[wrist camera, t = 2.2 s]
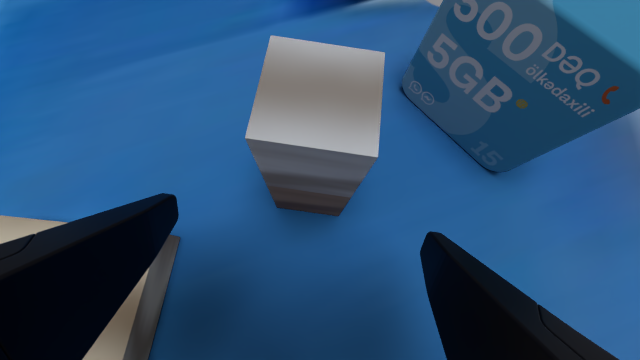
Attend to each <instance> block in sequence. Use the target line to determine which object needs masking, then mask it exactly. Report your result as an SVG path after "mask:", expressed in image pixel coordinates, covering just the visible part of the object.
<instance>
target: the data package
mask: <svg viewBox="0 0 640 360" xmlns="http://www.w3.org/2000/svg"><path fill="white" fill-rule="evenodd" d="M402 87H403V90H404V92H405V94H406V96H407V97H408V98H409V99H410V100H411V101H412V102H413V103H414V104H415V105H416V106H417V107H419V108H420V109H421V110H422V111H423V112H424V113H425V114H426V115H427V116H428V117H429V118H430V119H432V120H433V121H434V122H435V123H436V124H437V125H438V126H439V127H440V128H441V129H442V130H444V131H445V132H446V133H447V134H448V135H449V136H450V137H451V138H452V139H453V140H454V141H456V142H457V143H458V144H459V145H460V146H461V147H462V148H463V149H464V150H465V151H466V152H467V153H469V154H470V155H471V156H472V157H473V158H474V159H475V160H476V161H477V162H478V163H479V164H481V165H482V166H483V167H485V168H487V169H489V170H491V171H495V172H505V171H508V170H511V169H513V168H515V167H517V166H519V165H521V164H523V163H525V162H528V161H530V160H532V159H534V158H536V157H538V156H540V155H542V154H545V153H547V152H549V151H551V150H553V149H555V148H557V147H559V146H561V145H564V144H566V143H568V142H570V141H572V140H574V139H576V138H578V137H581V136H583V135H585V134H587V133H589V132H591V131H593V130H595V129H597V128H600V127H602V126H604V125H606V124H608V123H610V122H612V121H614V120H617V119H619V118H621V117H623V116H625V115H627V114H629V113H631V112H633V111H635V110H637V109H639V108H640V0H443V2H442V3H441V5H440V7H439V9H438V11H437V13H436V15H435V17H434V19H433V21H432V23H431V25H430V27H429V28H428V30H427V32H426V34H425V36H424V38H423V40H422V42H421V44H420V46H419V48H418V50H417V52H416V53H415V55H414V57H413V59H412V61H411V63H410V65H409V67H408V69H407V71H406V73H405V75H404V77H403V80H402Z"/></svg>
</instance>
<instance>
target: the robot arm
mask: <svg viewBox="0 0 640 360" xmlns="http://www.w3.org/2000/svg"><path fill="white" fill-rule="evenodd" d="M177 220H178V206H177V199H176V196H175V195H172V194H165V193H162V194H158V195H155V196H152V197H149V198H145V199H142V200H139V201H136V202H133V203H129V204H126V205H123V206H120V207H117V208H114V209H110V210H107V211H104V212H101V213H98V214H94V215H91V216H88V217H85V218H82V219H78V220H75V221H72V222H69V223H66V224H63V225H59V226H56V227H53V228H50V229H47V230H43V231H40V232H37V233H36V234H30V235H27V236H24V237H21V238H18V239H14V240H11V241H8V242H5V243H1V244H0V360H82V359H83V358H84V357H85V355H86V354H87V352H88V351H89V350H90V348H91V347H92V346H93V344H94V343H95V341H96V340H97V339H98V337H99V336H100V335H101V333H102V332H103V330H104V329H105V328H106V326H107V325H108V323H109V322H110V321H111V319H112V318H113V317H114V315H115V314H116V312H117V311H118V310H119V308H120V307H121V306H122V304H123V303H124V301H125V300H126V299H127V297H128V296H129V294H130V293H131V292H132V290H133V289H134V288H135V286H136V285H137V283H138V282H139V281H140V279H141V278H142V276H143V275H144V274H145V272H146V271H147V270H148V268H149V267H150V265H151V264H152V263H153V261H154V260H155V258H156V257H157V255H158V254H159V252H160V250H161V249H162V247H163V245H164V243H165V241H166V240H167V238H168V236H169V234H170V233H171V231H172V229H173V227H174V226H175V224H176V222H177ZM420 257H421V262H422V268H423V273H424V279H425V284H426V289H427V294H428V298H429V302H430V305H431V308H432V311H433V315H434V318H435V321H436V325H437V328H438V331H439V335H440V338H441V341H442V345H443V348H444V351H445V355H446V358H447V360H619V359H617V358H616V357H614V356H613V355H611V354H610V353H608V352H607V351H605V350H604V349H602V348H601V347H599V346H598V345H596V344H595V343H593V342H592V341H591V340H589V339H588V338H586V337H585V336H583V335H582V334H580V333H579V332H577V331H576V330H574V329H573V328H571V327H570V326H569V325H567V324H566V323H564V322H563V321H562V320H560V319H559V318H557V317H556V316H554V315H553V314H552V313H550V312H549V311H548V310H546V309H545V308H543V307H542V306H541V305H537V303H536V302H535V301H534V300H532V299H531V298H530V297H528V296H527V295H525V294H524V293H523V292H521V291H520V290H519V289H517V288H516V287H514V286H513V285H512V284H510V283H509V282H508V281H506V280H505V279H503V278H502V277H501V276H499V275H498V274H497V273H495V272H494V271H492V270H491V269H490V268H488V267H487V266H486V265H484V264H483V263H481V262H480V261H479V260H477V259H476V258H475V257H473V256H472V255H470V254H469V253H468V252H466V251H465V250H464V249H462V248H461V247H459V246H458V245H457V244H455V243H454V242H453V241H451V240H450V239H448V238H447V237H446V236H444V235H443V234H441V233H438V232H428V233H427V235H426V237H425V240H424V242H423V245H422V247H421V251H420Z"/></svg>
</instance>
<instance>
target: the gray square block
mask: <svg viewBox="0 0 640 360" xmlns="http://www.w3.org/2000/svg"><path fill="white" fill-rule="evenodd" d="M384 59H385V53H384V52H378V51H371V50H364V49H358V48H351V47H344V46H338V45H331V44H324V43H318V42H311V41H304V40H298V39H291V38H285V37H278V36H271V37H270V41H269V45H268V49H267V53H266V57H265V61H264V65H263V69H262V73H261V77H260V81H259V85H258V89H257V93H256V97H255V101H254V105H253V109H252V113H251V117H250V121H249V124H248V128H247V132H246V136H245V139H246V141H247V143H248V145H249V148H250V150H251V152H252V154H253V156H254V158H255V161H256V163H257V165H258V167H259V169H260V172H261V174H262V176H263V178H264V180H265V182H266V185H267V187H268V189H269V191H270V193H271V195H272V198H273V200H274V202H275V204H276V206H277V208H284V209H291V210H298V211H305V212H312V213H319V214H326V215H333V216H339V215H340V213H341V212H342V210H343V209H344V207H345V206H346V204H347V203H348V201H349V200H350V198H351V197H352V195H353V194H354V192H355V191H356V189H357V188H358V186H359V185H360V183H361V182H362V180H363V179H364V177H365V176H366V174H367V173H368V171H369V170H370V168H371V167H372V165H373V164H374V162H375V161H376V159H377V158H378V148H379V133H380V119H381V104H382V89H383V74H384Z"/></svg>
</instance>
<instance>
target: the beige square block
mask: <svg viewBox="0 0 640 360" xmlns="http://www.w3.org/2000/svg"><path fill="white" fill-rule="evenodd" d="M63 224H66V222H57V221H47V220H38V219H28V218H18V217H9V216H0V244H1V243H5V242H8V241H11V240H14V239H18V238H21V237H24V236H27V235H30V234H36V233H37V232H40V231H43V230H47V229H50V228H53V227H56V226H59V225H63ZM179 240H180V237H177V236H173V235H169V236H168V238H167V240H166V241H165V243H164V245H163V247H162V249H161V250H160V252H159V254H158V255H157V257H156V258H155V260H154V261H153V263H152V264H151V265H150V267H149V268H148V270H147V271H146V272H145V274H144V275H143V276H142V278H141V279H140V281H139V282H138V283H137V285H136V286H135V288H134V289H133V290H132V292H131V293H130V294H129V296H128V297H127V299H126V300H125V301H124V303H123V304H122V306H121V307H120V308H119V310H118V311H117V312H116V314H115V315H114V317H113V318H112V319H111V321H110V322H109V323H108V325H107V326H106V328H105V329H104V330H103V332H102V333H101V335H100V336H99V337H98V339H97V340H96V341H95V343H94V344H93V346H92V347H91V348H90V350H89V351H88V352H87V354H86V355H85V357H84V358H83V359H82V360H148V357H149V354H150V350H151V346H152V342H153V338H154V335H155V331H156V327H157V323H158V319H159V316H160V312H161V308H162V304H163V301H164V297H165V293H166V289H167V285H168V282H169V278H170V274H171V270H172V266H173V263H174V259H175V255H176V251H177V247H178V244H179Z"/></svg>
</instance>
